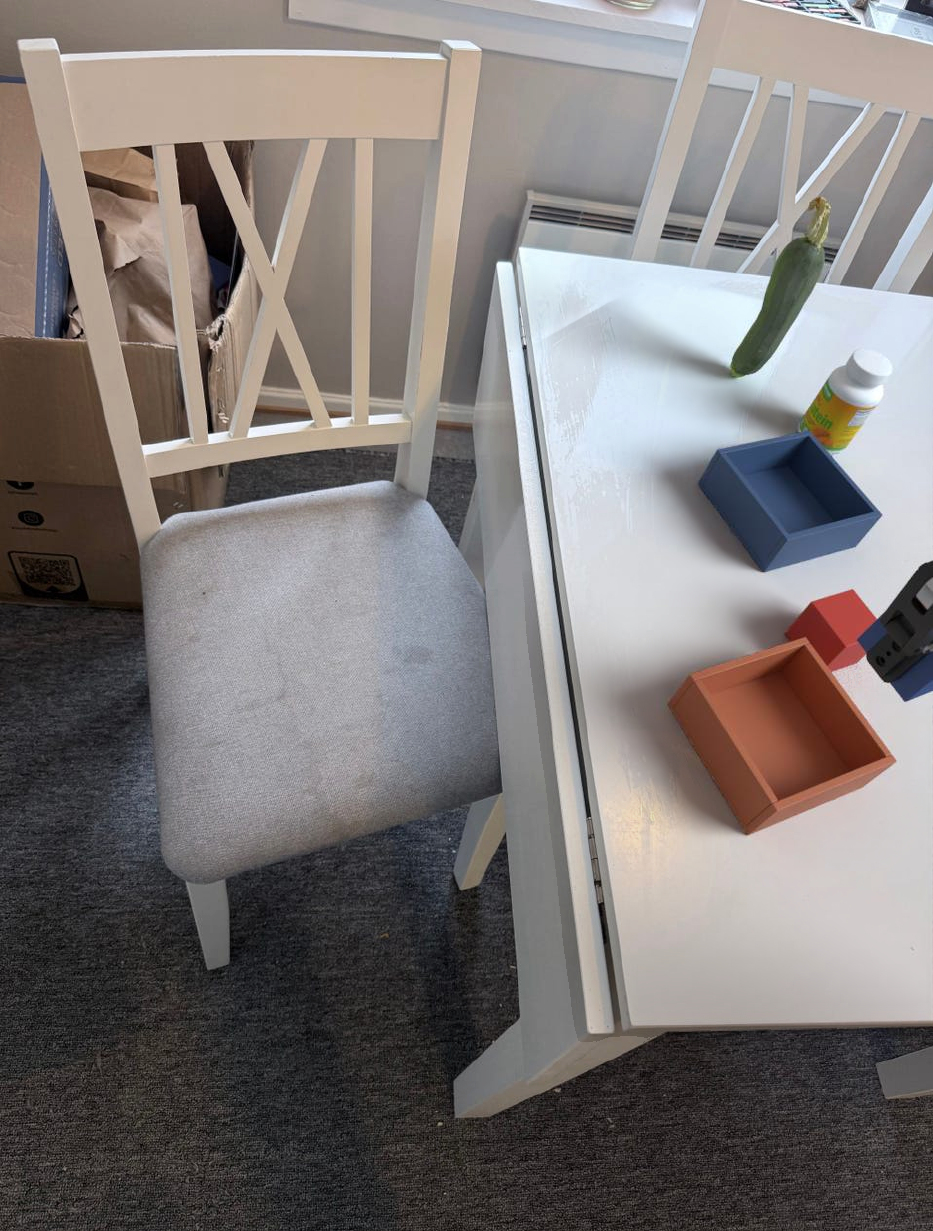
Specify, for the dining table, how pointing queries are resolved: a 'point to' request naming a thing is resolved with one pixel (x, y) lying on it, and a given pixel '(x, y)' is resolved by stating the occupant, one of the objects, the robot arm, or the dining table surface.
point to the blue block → (917, 680)
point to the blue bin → (787, 499)
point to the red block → (834, 628)
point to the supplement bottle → (847, 400)
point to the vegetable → (785, 293)
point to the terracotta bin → (778, 733)
